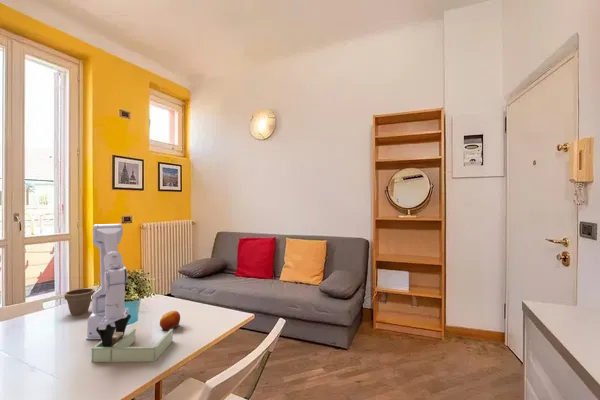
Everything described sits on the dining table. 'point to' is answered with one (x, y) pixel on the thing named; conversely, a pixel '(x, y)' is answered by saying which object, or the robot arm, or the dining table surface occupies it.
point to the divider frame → (130, 350)
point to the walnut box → (116, 337)
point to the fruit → (170, 320)
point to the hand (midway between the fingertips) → (113, 341)
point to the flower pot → (79, 300)
